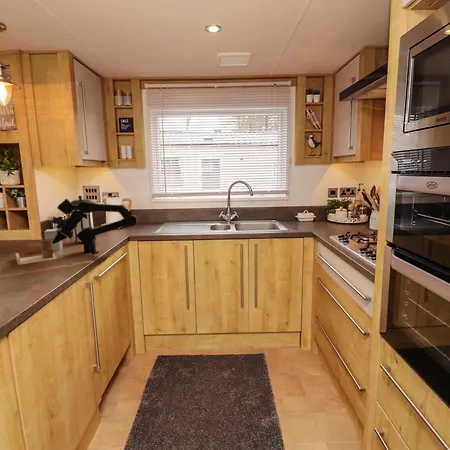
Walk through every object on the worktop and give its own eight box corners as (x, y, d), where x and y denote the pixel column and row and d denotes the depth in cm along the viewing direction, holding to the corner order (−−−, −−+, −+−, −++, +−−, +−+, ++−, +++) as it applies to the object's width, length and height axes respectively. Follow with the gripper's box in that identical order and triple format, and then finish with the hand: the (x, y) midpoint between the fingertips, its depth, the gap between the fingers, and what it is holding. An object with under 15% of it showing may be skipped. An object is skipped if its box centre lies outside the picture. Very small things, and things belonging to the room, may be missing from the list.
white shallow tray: (53, 255, 174) (52, 248, 173) (57, 260, 164) (56, 252, 163) (16, 261, 164) (15, 253, 164) (18, 267, 154) (17, 258, 153)
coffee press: (65, 244, 202) (59, 196, 197) (86, 238, 216) (82, 194, 211) (83, 246, 194) (78, 196, 189) (104, 241, 208) (100, 194, 203)
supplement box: (46, 253, 179) (43, 231, 177) (49, 250, 186) (47, 229, 184) (60, 252, 181) (58, 230, 179) (63, 249, 188) (61, 228, 186)
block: (51, 255, 170) (50, 238, 168) (53, 257, 166) (51, 240, 165) (42, 257, 167) (40, 240, 166) (43, 258, 164) (41, 241, 162)
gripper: (58, 209, 175) (37, 231, 171) (63, 212, 160) (40, 237, 156) (75, 221, 181) (55, 243, 177) (81, 226, 166) (60, 250, 161)
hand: (52, 243), depth 167 cm, fingers closed
